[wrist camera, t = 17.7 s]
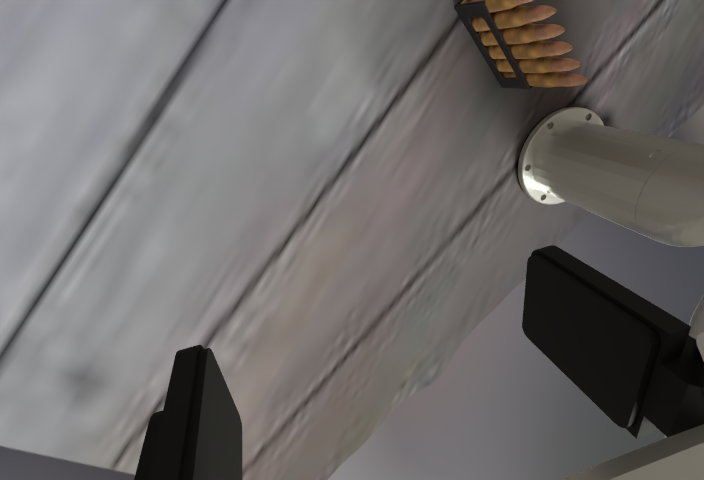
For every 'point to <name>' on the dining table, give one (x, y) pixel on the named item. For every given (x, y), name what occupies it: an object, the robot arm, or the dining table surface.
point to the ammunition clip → (519, 43)
